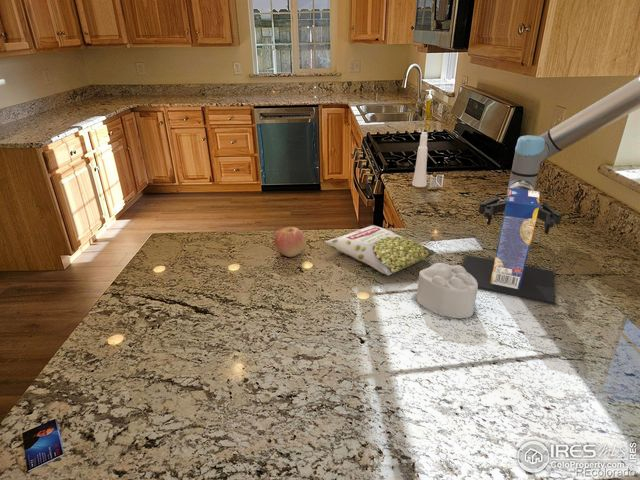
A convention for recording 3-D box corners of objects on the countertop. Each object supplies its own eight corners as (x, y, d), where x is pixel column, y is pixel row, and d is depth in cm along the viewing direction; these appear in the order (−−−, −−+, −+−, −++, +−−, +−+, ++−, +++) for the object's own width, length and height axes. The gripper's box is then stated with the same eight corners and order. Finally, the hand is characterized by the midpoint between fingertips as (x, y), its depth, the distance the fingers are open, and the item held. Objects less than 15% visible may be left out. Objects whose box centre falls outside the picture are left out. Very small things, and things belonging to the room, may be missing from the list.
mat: (552, 272, 113) (552, 270, 113) (553, 304, 100) (554, 302, 100) (466, 256, 121) (466, 255, 121) (457, 283, 108) (457, 281, 108)
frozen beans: (389, 265, 105) (322, 233, 122) (387, 285, 107) (322, 251, 124) (439, 243, 117) (372, 216, 134) (436, 261, 120) (371, 233, 137)
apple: (286, 264, 118) (285, 238, 115) (269, 252, 124) (267, 227, 121) (311, 254, 123) (310, 229, 120) (293, 244, 129) (292, 220, 126)
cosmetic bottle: (418, 181, 183) (423, 130, 173) (429, 185, 178) (435, 132, 169) (408, 184, 179) (413, 132, 170) (420, 188, 175) (425, 134, 165)
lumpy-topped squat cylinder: (437, 284, 108) (441, 254, 104) (483, 307, 99) (489, 275, 95) (410, 299, 102) (414, 268, 98) (457, 325, 93) (463, 291, 89)
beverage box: (521, 269, 114) (539, 191, 104) (519, 289, 105) (539, 206, 95) (494, 264, 116) (509, 187, 107) (490, 283, 107) (506, 201, 98)
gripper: (477, 180, 128) (468, 203, 110) (571, 191, 118) (577, 218, 101) (473, 203, 131) (464, 229, 114) (565, 216, 122) (569, 246, 104)
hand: (517, 224), depth 107 cm, fingers open, 13 cm apart
